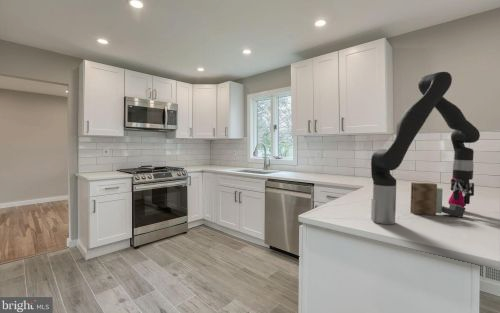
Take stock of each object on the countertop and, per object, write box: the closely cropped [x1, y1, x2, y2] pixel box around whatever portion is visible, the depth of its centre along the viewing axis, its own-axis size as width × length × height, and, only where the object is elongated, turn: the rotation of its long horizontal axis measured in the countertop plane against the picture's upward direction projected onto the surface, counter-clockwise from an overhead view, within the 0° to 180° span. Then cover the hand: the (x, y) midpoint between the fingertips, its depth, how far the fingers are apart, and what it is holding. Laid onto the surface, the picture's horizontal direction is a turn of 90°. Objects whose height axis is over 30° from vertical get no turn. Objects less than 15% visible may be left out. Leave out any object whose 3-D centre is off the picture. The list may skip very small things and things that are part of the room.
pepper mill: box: [447, 177, 467, 208], centre depth 128 cm, size 7×7×20 cm
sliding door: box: [436, 187, 443, 214], centre depth 122 cm, size 12×1×12 cm, turn 75°
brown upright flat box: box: [409, 181, 438, 216], centre depth 123 cm, size 10×4×16 cm, turn 75°
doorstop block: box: [442, 203, 467, 219], centre depth 120 cm, size 8×5×5 cm, turn 76°
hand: (461, 201), depth 118 cm, fingers open, 8 cm apart
